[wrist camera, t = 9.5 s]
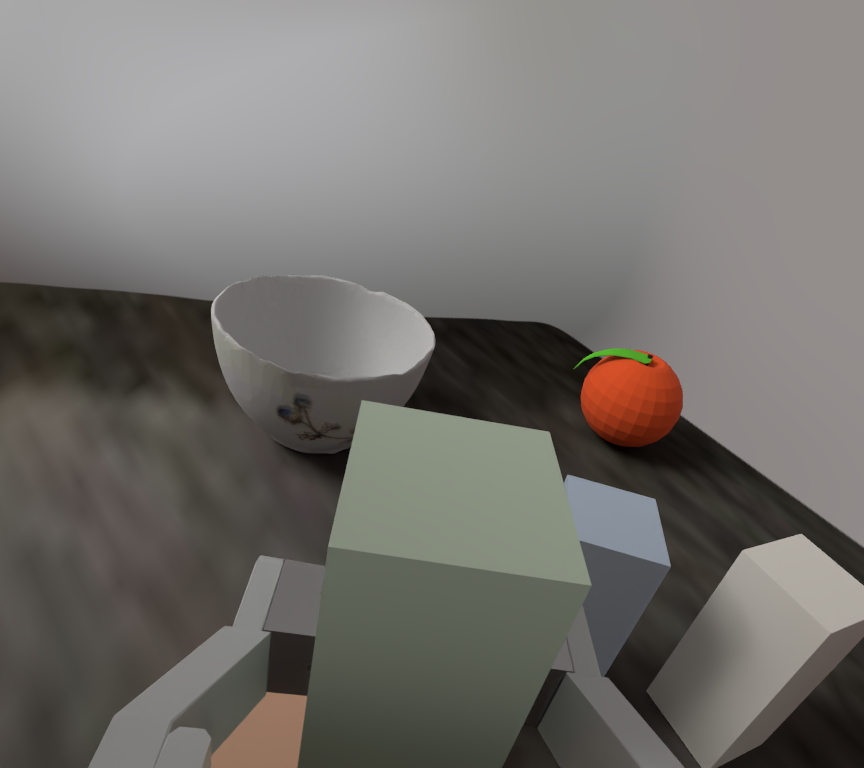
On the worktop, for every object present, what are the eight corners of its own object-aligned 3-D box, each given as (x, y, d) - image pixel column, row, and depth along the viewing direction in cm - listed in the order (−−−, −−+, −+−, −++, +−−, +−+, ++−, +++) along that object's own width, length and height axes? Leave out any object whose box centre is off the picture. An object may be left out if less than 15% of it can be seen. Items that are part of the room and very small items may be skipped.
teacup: (418, 504, 32) (448, 387, 28) (185, 485, 30) (182, 354, 26) (403, 369, 45) (423, 274, 41) (239, 348, 43) (242, 245, 39)
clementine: (552, 444, 40) (585, 357, 37) (555, 397, 46) (585, 318, 43) (664, 478, 40) (710, 393, 36) (654, 425, 46) (692, 348, 42)
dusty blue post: (500, 687, 24) (569, 537, 20) (506, 618, 27) (567, 474, 23) (582, 712, 24) (670, 566, 19) (579, 640, 27) (655, 499, 22)
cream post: (705, 773, 23) (830, 633, 18) (646, 690, 25) (742, 550, 21) (762, 744, 24) (890, 608, 20) (700, 669, 27) (801, 533, 22)
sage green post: (285, 852, 12) (328, 547, 7) (317, 688, 15) (361, 400, 10) (451, 870, 12) (591, 585, 8) (450, 705, 15) (549, 432, 11)
